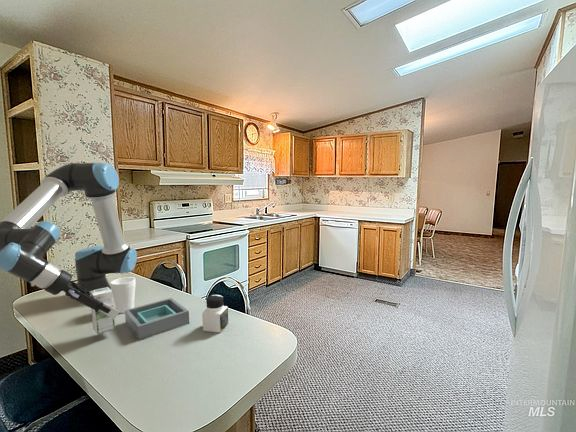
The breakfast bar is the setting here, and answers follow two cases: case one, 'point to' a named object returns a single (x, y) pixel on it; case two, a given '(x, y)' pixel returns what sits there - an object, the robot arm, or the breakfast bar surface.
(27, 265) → the robot arm
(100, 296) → the syrup box
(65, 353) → the breakfast bar surface
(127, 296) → the foam cup
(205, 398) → the breakfast bar surface
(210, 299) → the medicine bottle
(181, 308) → the walled box
